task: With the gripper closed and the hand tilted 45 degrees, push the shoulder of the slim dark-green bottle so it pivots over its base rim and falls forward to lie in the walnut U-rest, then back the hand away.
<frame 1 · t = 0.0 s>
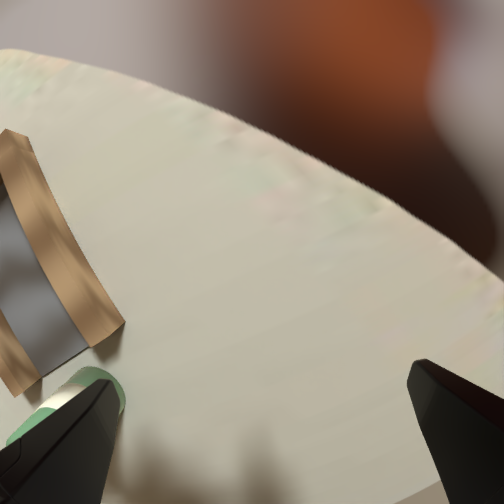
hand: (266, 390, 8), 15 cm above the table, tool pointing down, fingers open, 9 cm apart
bottle: (98, 392, 24), on the table
cradle: (25, 280, 23), on the table
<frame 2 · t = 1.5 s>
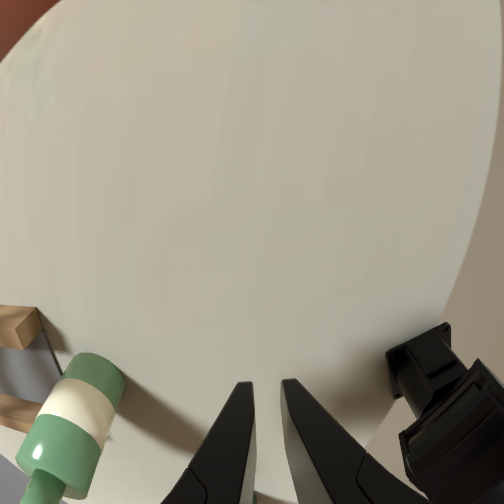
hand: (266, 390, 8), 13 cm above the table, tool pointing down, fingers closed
bottle: (96, 376, 24), on the table
cradle: (4, 363, 24), on the table
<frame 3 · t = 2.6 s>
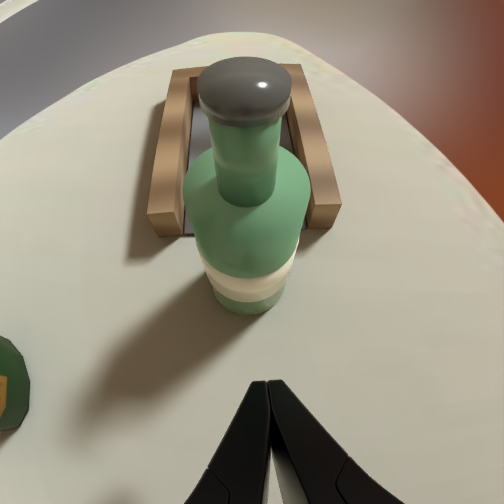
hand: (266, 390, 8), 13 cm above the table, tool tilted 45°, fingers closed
bottle: (248, 279, 24), on the table
bottle 2: (2, 384, 19), on the table
cradle: (241, 156, 29), on the table
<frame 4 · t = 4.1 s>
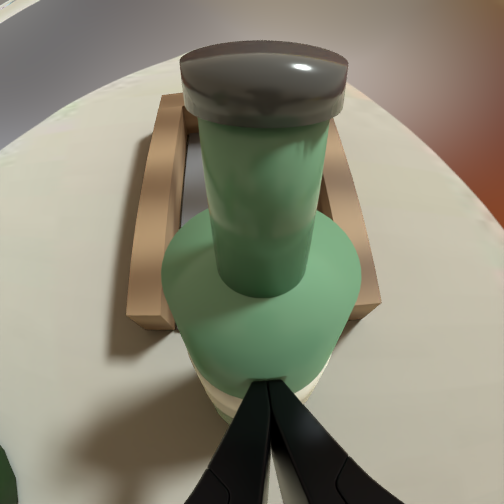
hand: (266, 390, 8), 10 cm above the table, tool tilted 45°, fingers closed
bottle: (258, 389, 17), point 1 cm above the table, tilted 16°
cradle: (248, 216, 23), on the table
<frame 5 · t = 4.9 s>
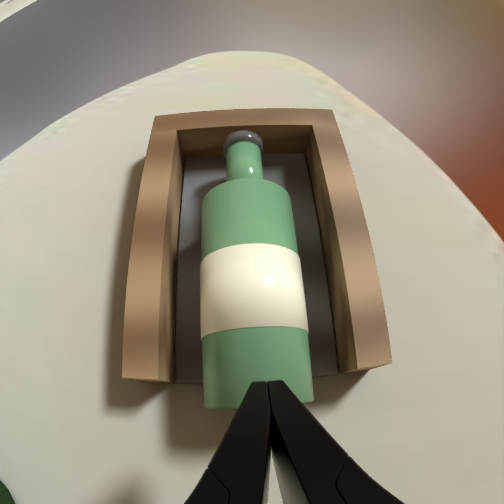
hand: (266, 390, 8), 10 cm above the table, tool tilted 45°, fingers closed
bottle: (259, 405, 14), point 3 cm above the table, tilted 90°, touching cradle
cradle: (250, 258, 21), on the table
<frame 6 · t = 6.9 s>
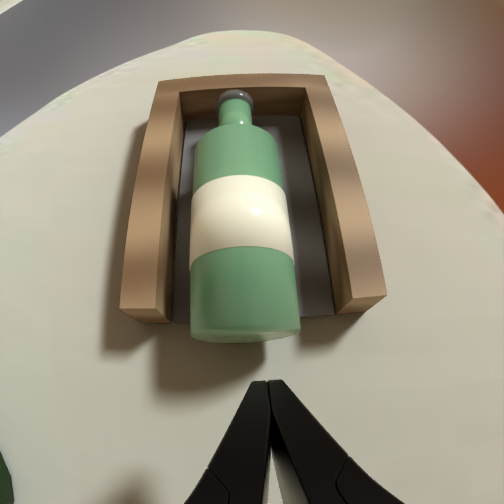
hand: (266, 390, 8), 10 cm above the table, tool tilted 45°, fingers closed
bottle: (245, 334, 15), point 3 cm above the table, tilted 90°, touching cradle
cradle: (247, 205, 22), on the table
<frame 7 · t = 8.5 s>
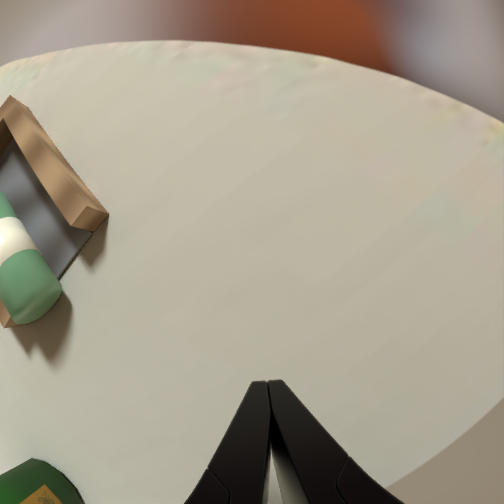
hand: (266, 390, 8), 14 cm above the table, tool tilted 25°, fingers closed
bottle: (37, 303, 21), point 3 cm above the table, tilted 90°, touching cradle
bottle 2: (55, 485, 23), on the table
cradle: (24, 214, 25), on the table
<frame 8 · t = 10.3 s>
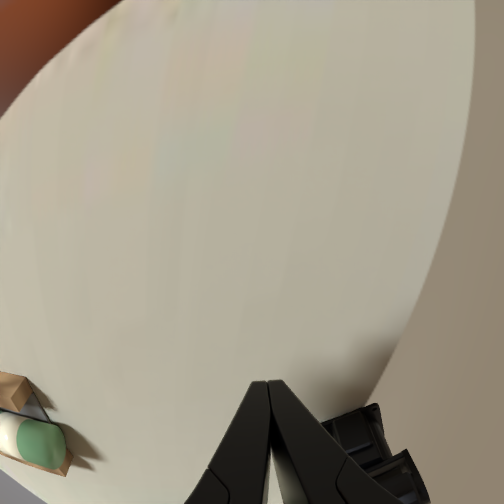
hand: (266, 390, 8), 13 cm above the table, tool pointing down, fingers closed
bottle: (53, 447, 24), point 3 cm above the table, tilted 90°, touching cradle
cradle: (4, 409, 26), on the table
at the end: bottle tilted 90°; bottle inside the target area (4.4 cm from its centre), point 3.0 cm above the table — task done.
